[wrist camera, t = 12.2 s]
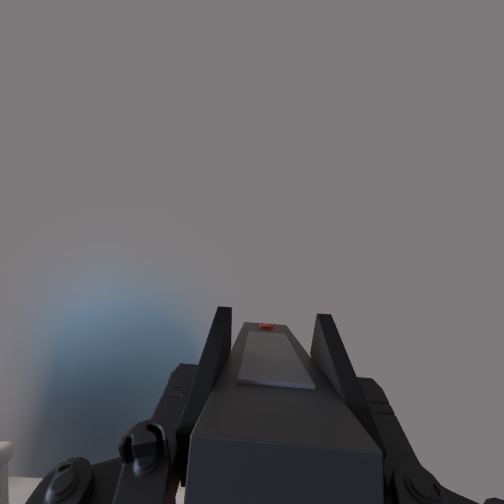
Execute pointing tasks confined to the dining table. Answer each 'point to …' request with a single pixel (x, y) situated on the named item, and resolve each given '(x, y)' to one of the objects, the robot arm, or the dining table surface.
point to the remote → (279, 432)
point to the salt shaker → (5, 469)
